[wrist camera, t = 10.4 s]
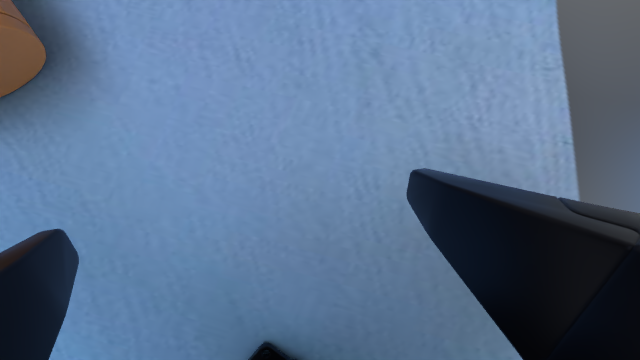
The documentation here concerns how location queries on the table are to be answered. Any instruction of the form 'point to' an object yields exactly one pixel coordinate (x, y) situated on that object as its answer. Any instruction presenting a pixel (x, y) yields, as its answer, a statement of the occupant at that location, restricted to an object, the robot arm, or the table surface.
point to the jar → (17, 49)
